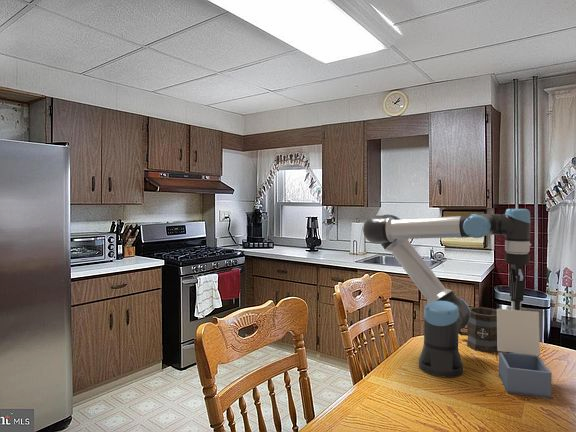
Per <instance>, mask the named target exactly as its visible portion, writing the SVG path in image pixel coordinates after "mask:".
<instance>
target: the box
mask: <svg viewBox="0 0 576 432" xmlns="http://www.w3.org/2000/svg"><path fill="white" fill-rule="evenodd" d="M539 356H540V355H537V356H532V355H523V354H513V353H507V352H504V351H501V352H498V373H497V374H498V377H499V379H500V380H501V383H502V386H503V388H504V389H505V391H506V394H511V395H512V394H513V395H519V396H520V395H521V396H527V397H534V398H541V399H548V400H549V399H550V400H552V383H553V382H552V378H553V377H552V376H553V375H552V372H551V371H550V369H549V367H548V366H546V364H545V362H544V361H543V362H544V363H543V362H542V360H543V359H542V360H541V358H540V357H539Z"/></svg>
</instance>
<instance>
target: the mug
mask: <svg viewBox="0 0 576 432" xmlns="http://www.w3.org/2000/svg"><path fill="white" fill-rule="evenodd" d="M469 308H470V312H471V315H470V319H469V322H468V324H467V325H466V326H467V327H466V329H467V330H466V331H467V332H462V331H461V330H460V331H459V333H458V335H460V336H466V337H467V342H466V347H468V348H470V349H471V350H473V351H475V352H480V353H486V354H496V353H499V352H502V351H497V309H495V308H491V307H490V308H489V307H483V306H477V307H476V306H475V307H473V306H472V307H469Z"/></svg>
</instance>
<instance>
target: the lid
mask: <svg viewBox="0 0 576 432" xmlns="http://www.w3.org/2000/svg"><path fill="white" fill-rule="evenodd" d="M496 310H497V351H501V352H504V353H507V352H513V353H523V354H532V355H537V356H540V355H541V348H540V347H541V345H540V342H541V341H540V312H539V311H532V310H522V309H521V310H511V309H507V308H506V309H505V308H496Z"/></svg>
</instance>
